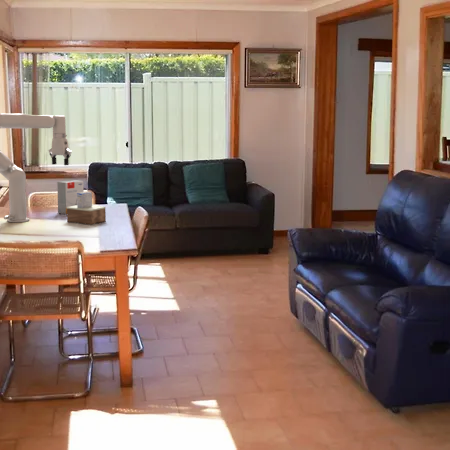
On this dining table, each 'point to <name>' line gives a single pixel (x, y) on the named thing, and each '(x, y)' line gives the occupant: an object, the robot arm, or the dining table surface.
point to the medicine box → (84, 199)
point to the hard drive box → (68, 194)
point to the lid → (86, 208)
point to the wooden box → (86, 216)
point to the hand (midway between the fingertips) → (60, 164)
